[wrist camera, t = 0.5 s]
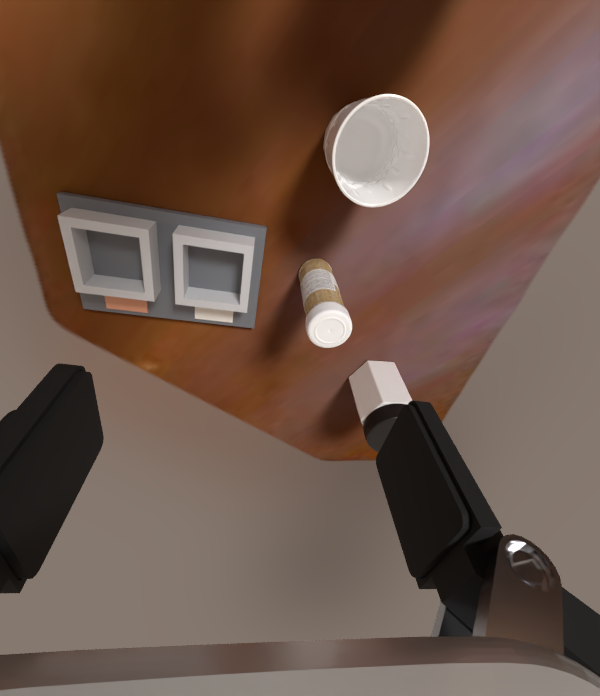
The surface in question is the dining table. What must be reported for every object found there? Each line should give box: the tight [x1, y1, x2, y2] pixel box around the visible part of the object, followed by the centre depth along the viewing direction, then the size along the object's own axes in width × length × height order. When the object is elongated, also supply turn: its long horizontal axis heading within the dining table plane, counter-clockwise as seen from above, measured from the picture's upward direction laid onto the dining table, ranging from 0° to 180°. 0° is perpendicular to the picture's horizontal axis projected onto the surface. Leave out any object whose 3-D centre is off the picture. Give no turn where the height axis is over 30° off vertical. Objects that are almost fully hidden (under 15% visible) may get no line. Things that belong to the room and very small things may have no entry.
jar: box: [349, 360, 412, 452], centre depth 50 cm, size 9×8×12 cm
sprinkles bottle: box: [298, 259, 352, 348], centre depth 37 cm, size 5×5×13 cm
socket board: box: [57, 191, 267, 328], centre depth 39 cm, size 14×22×4 cm, turn 79°
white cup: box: [323, 94, 429, 207], centre depth 30 cm, size 8×8×10 cm
